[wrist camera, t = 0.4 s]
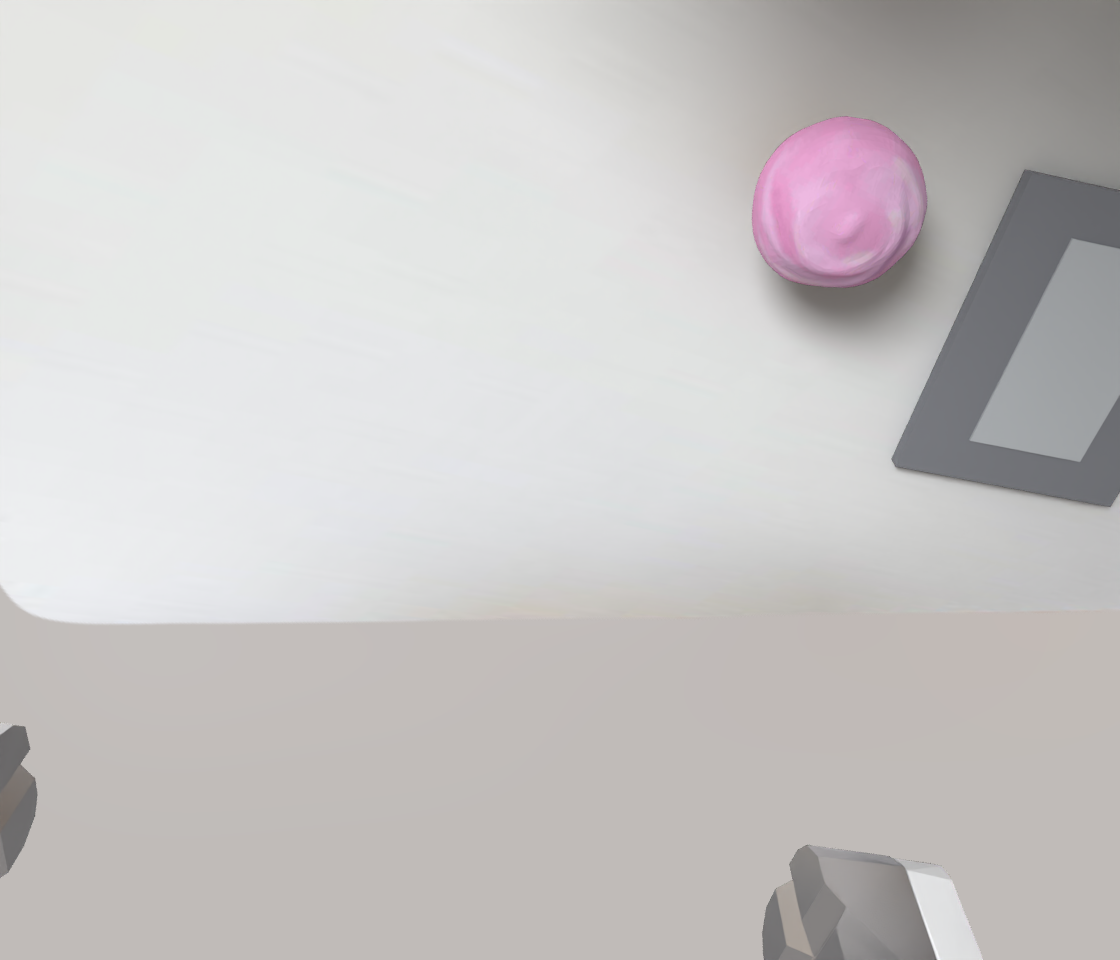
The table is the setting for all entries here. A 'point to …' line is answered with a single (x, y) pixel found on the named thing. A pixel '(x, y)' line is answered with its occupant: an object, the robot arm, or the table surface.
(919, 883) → the robot arm
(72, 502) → the table surface
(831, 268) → the cupcake
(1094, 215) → the charging mat
